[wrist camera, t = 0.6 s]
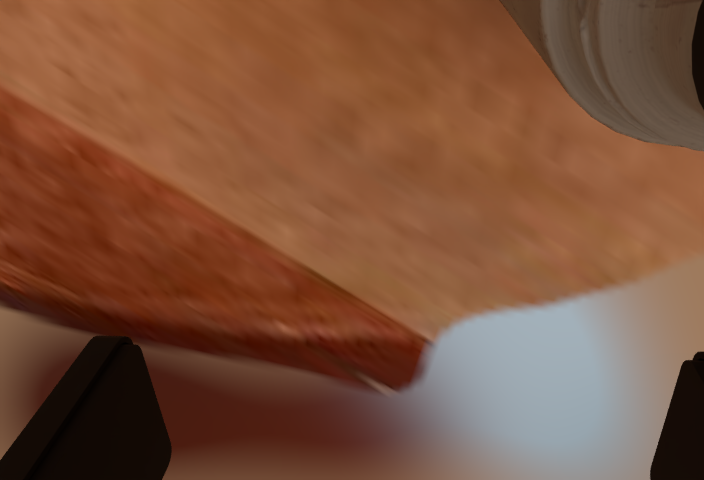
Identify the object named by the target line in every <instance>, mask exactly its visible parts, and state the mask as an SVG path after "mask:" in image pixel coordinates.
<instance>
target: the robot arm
mask: <svg viewBox="0 0 704 480" xmlns="http://www.w3.org/2000/svg"><path fill="white" fill-rule="evenodd" d="M170 458H171V442H170V439H169V436H168V433H167V429H166V426H165V423H164V420H163V417H162V414H161V411H160V407H159V404H158V401H157V398H156V395H155V391H154V388H153V385H152V382H151V379H150V376H149V372H148V369H147V366H146V363H145V360H144V357H143V353H142V350H141V348H140V347H139V346H138V345H134V344H133V342H132V340H131V339H130V338H129V337H125V336H95V337H93V338H92V339H91V340H90V341H89V342H88V344H87V345H86V346H85V348H84V349H83V351H82V352H81V353H80V355H79V356H78V357H77V359H76V360H75V361H74V363H73V364H72V365H71V367H70V368H69V369H68V371H67V372H66V373H65V375H64V376H63V377H62V379H61V380H60V381H59V383H58V384H57V385H56V387H55V388H54V389H53V391H52V392H51V393H50V395H49V396H48V397H47V399H46V400H45V401H44V403H43V404H42V405H41V407H40V408H39V409H38V411H37V412H36V413H35V415H34V416H33V417H32V419H31V420H30V421H29V423H28V424H27V425H26V427H25V428H24V429H23V431H22V432H21V433H20V435H19V436H18V437H17V439H16V440H15V441H14V443H13V444H12V445H11V447H10V448H9V449H8V451H7V452H6V453H5V455H4V456H3V457H2V459H1V460H0V480H162V478H163V476H164V474H165V472H166V470H167V467H168V465H169V462H170ZM650 479H651V480H704V352H697V353H696V354H695V355H694V358H693V360H686V361H684V362H683V364H682V366H681V369H680V373H679V376H678V379H677V383H676V386H675V389H674V393H673V396H672V399H671V402H670V406H669V409H668V412H667V416H666V419H665V423H664V426H663V429H662V432H661V436H660V439H659V442H658V445H657V449H656V452H655V456H654V459H653V462H652V465H651V470H650Z"/></svg>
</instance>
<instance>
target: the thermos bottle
mask: <svg viewBox="0 0 704 480" xmlns="http://www.w3.org/2000/svg"><path fill="white" fill-rule="evenodd" d="M500 1H501V3H502V4H503V5H504V7H505V8H506V9H507V11H508V12H509V14H510V15H511V16H512V18H513V19H514V20H515V22H516V23H517V25H518V26H519V27H520V29H521V30H522V31H523V33H524V34H525V36H526V37H527V38H528V40H529V41H530V42H531V44H532V45H533V46H534V48H535V49H536V51H537V52H538V53H539V55H540V56H541V57H542V59H543V60H544V62H545V63H546V64H547V66H548V67H549V68H550V70H551V71H552V72H553V74H554V75H555V77H556V78H557V79H558V81H559V82H560V83H561V85H562V86H563V87H564V89H565V90H566V92H567V93H568V94H569V96H570V97H571V98H572V99H574V100H575V101H576V102H577V103H578V104H579V105H580V106H581V107H582V108H583V109H584V110H585V111H586V112H587V113H588V114H589V115H590V116H591V117H592V118H594V119H596V120H597V121H599V122H601V123H602V124H604V125H606V126H607V127H609V128H610V129H612V130H614V131H615V132H618V133H621V134H624V135H627V136H630V137H632V138H635V139H638V140H641V141H644V142H650V143H657V144H665V145H672V146H680V147H687V148H690V149H693V150H698V151H704V0H500Z"/></svg>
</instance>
